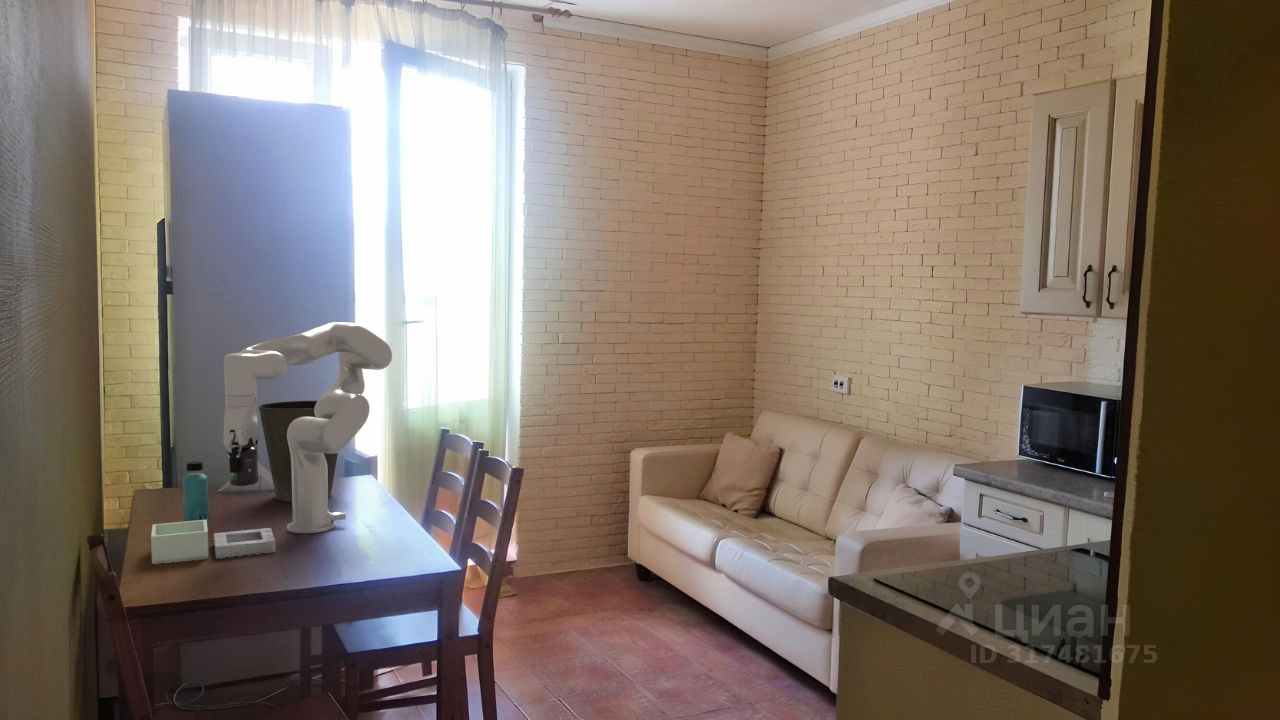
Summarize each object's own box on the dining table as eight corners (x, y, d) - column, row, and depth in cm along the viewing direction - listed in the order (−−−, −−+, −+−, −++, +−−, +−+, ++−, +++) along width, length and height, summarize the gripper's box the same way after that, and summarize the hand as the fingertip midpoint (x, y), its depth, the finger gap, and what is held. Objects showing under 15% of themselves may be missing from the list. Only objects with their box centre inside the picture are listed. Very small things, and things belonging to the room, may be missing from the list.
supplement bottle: (233, 487, 242) (231, 440, 240) (227, 482, 247) (225, 436, 246) (261, 484, 245) (259, 438, 244) (255, 479, 251) (253, 434, 250)
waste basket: (338, 486, 322) (337, 398, 319) (356, 498, 305) (354, 405, 302) (254, 494, 307) (252, 402, 305) (267, 508, 290) (265, 410, 288)
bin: (207, 545, 249) (206, 519, 249) (208, 558, 238) (207, 531, 237) (153, 551, 244) (152, 524, 243) (152, 564, 233) (151, 536, 232)
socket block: (270, 538, 257) (270, 527, 257) (275, 552, 244) (275, 541, 244) (214, 544, 251) (214, 533, 250) (216, 558, 238) (215, 547, 238)
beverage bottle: (199, 537, 257) (197, 464, 255) (178, 536, 258) (176, 463, 256) (215, 531, 263) (213, 460, 261) (194, 530, 264) (192, 459, 263)
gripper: (243, 396, 253) (245, 462, 255) (209, 405, 236) (212, 476, 238) (271, 396, 253) (272, 463, 254) (238, 406, 235) (240, 477, 237)
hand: (243, 468), depth 246 cm, fingers closed on supplement bottle, 6 cm apart
